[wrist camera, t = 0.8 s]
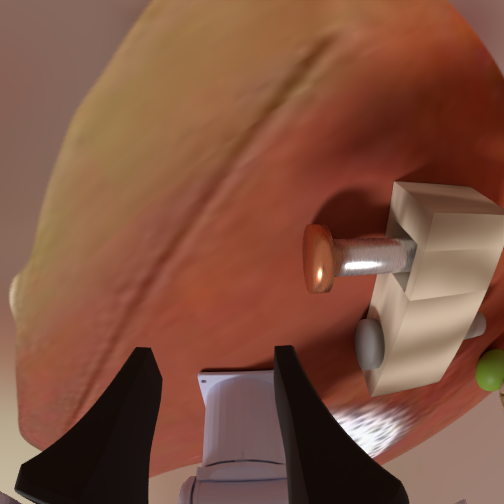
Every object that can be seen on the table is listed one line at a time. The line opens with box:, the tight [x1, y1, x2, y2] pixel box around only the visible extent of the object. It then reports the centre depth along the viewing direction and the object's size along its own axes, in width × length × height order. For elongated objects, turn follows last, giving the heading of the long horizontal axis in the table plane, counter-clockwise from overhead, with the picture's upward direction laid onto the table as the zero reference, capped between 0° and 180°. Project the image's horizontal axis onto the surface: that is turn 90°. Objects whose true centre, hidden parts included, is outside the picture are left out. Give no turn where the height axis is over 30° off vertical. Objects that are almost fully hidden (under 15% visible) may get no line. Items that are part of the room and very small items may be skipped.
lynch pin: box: [303, 224, 418, 294], centre depth 18 cm, size 4×13×4 cm, turn 91°
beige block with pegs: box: [355, 181, 504, 397], centre depth 20 cm, size 16×12×5 cm
